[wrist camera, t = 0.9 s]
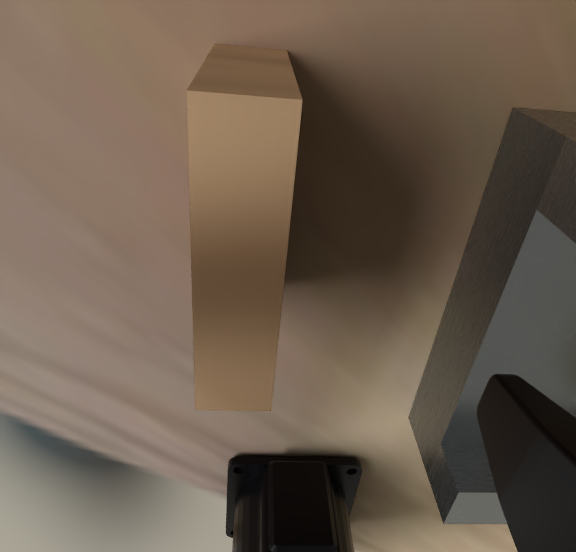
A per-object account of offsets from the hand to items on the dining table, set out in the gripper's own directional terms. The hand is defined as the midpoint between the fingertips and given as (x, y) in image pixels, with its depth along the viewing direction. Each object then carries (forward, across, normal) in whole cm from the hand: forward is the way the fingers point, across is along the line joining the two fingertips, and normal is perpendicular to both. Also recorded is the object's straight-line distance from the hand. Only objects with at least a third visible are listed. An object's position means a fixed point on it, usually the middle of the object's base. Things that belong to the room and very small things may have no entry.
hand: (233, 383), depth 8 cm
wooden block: (+9, 0, 0) cm, 9 cm away
